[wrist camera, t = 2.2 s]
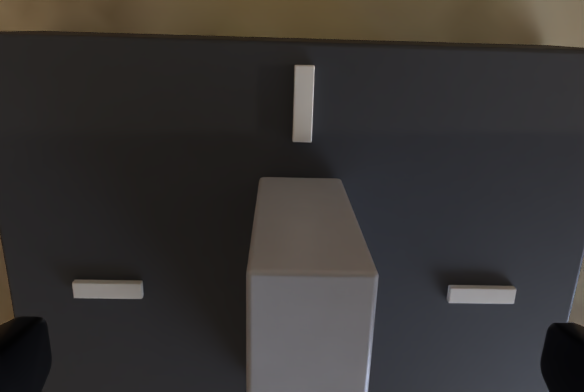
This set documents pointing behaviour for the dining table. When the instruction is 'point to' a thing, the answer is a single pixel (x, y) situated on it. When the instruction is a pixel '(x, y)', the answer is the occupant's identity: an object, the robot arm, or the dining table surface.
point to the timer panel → (291, 164)
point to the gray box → (308, 290)
